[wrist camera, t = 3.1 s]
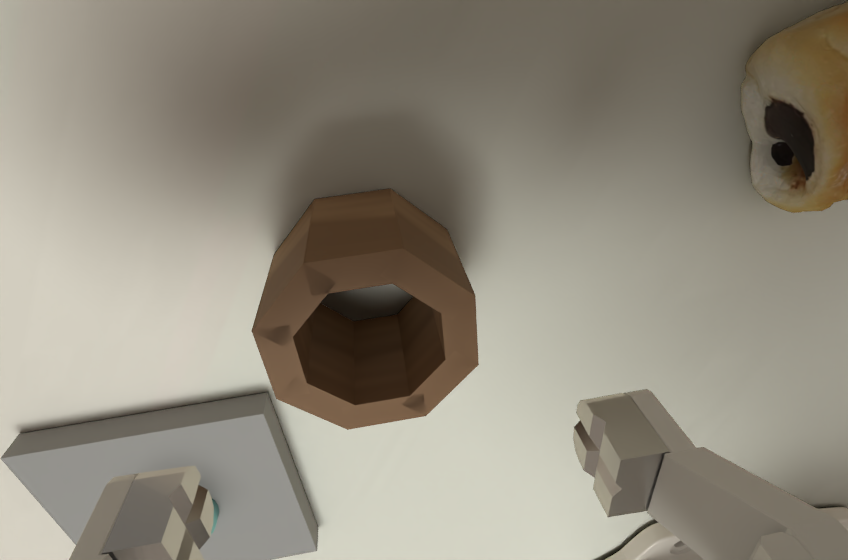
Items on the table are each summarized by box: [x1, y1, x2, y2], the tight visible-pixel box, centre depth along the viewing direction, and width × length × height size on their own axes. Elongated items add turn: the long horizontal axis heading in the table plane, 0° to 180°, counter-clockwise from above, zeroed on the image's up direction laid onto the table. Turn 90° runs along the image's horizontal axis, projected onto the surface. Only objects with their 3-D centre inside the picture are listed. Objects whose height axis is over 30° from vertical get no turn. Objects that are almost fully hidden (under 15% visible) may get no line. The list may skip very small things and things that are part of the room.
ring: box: [252, 188, 479, 430], centre depth 16 cm, size 6×6×4 cm
